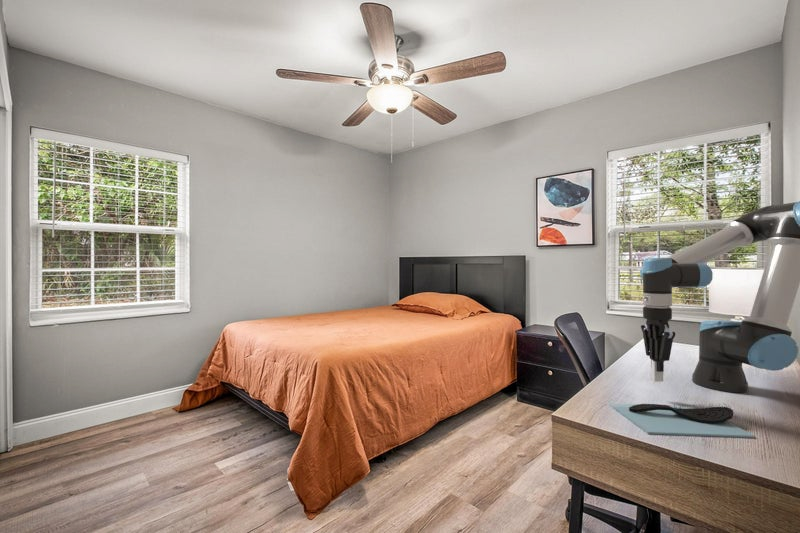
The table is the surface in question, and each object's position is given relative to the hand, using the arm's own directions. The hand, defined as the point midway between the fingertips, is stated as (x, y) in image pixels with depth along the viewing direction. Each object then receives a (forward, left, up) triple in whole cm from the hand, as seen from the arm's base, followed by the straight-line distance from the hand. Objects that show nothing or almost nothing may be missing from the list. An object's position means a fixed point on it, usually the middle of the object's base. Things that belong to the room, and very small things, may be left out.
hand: (657, 380), depth 118 cm
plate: (+6, +16, -6) cm, 18 cm away
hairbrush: (+3, +15, -5) cm, 16 cm away
